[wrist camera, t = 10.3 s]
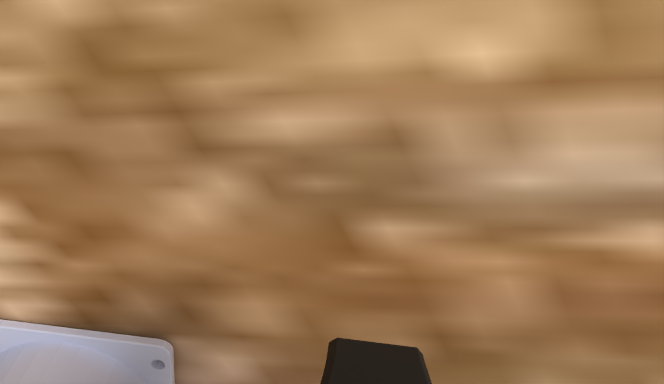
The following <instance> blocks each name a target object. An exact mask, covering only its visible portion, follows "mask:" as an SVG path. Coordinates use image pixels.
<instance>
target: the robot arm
mask: <svg viewBox="0 0 664 384" xmlns="http://www.w3.org/2000/svg"><path fill="white" fill-rule="evenodd" d="M158 360H160V361H158ZM161 361H162V362H161ZM0 384H175V376H174V350H173V347H172V346H171V344H170V343H169V342H167V341H165V340H162V339H156V338H148V337H140V336H131V335H123V334H115V333H107V332H99V331H91V330H83V329H75V328H67V327H59V326H51V325H42V324H34V323H26V322H18V321H10V320H2V319H0ZM321 384H432V383H431V380H430V377H429V374H428V371H427V368H426V365H425V361H424V358H423V354H422V353H421V352H420V351H419V350H418V348H415V347H407V346H399V345H391V344H383V343H375V342H367V341H359V340H351V339H343V338H336V339H334V340H332V341H331V342H329V346H328V353H327V360H326V365H325V369H324V373H323V377H322V380H321Z"/></svg>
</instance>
